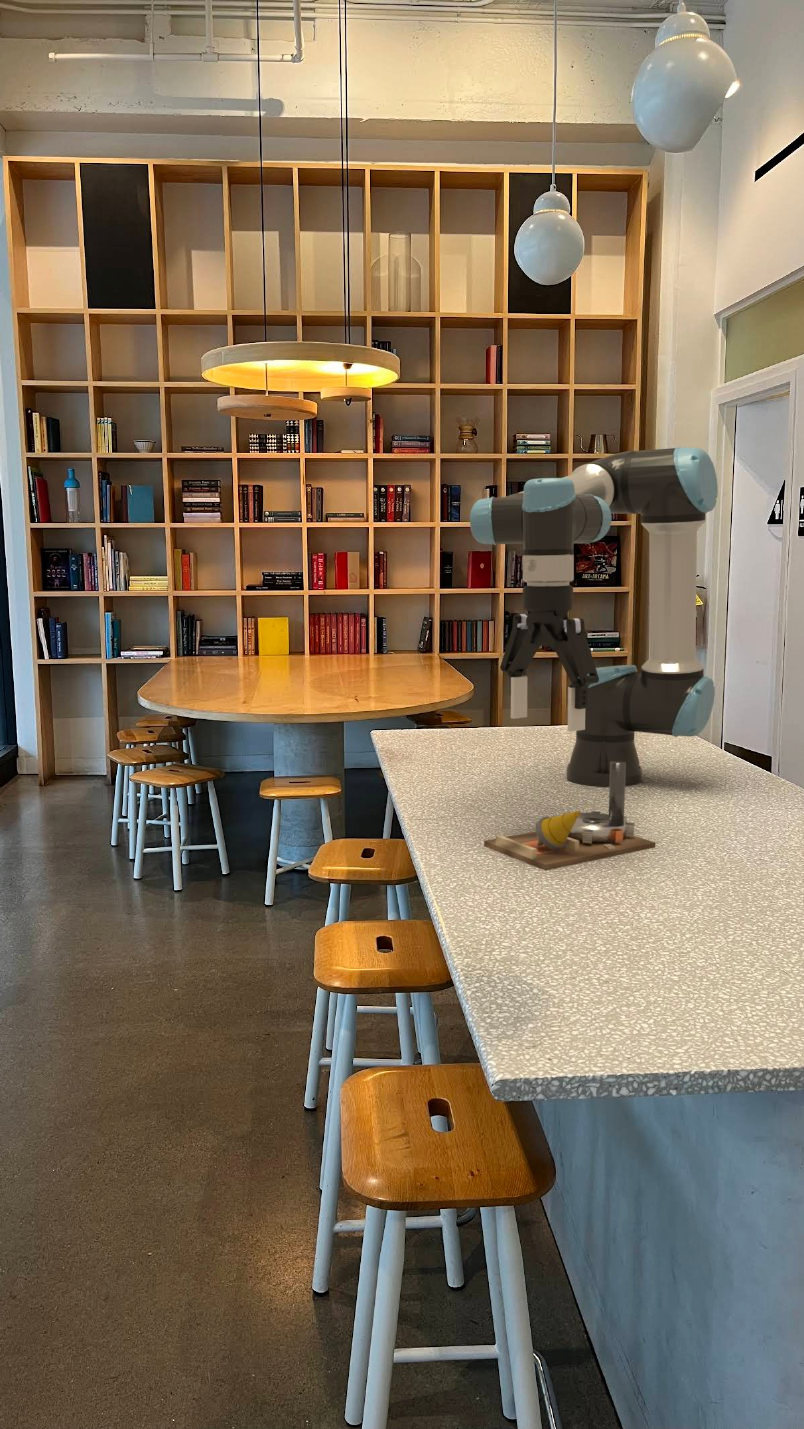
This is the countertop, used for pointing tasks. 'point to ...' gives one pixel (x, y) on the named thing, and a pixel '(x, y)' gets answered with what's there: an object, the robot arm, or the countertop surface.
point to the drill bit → (555, 830)
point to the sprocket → (603, 824)
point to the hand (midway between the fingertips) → (546, 723)
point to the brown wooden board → (563, 849)
